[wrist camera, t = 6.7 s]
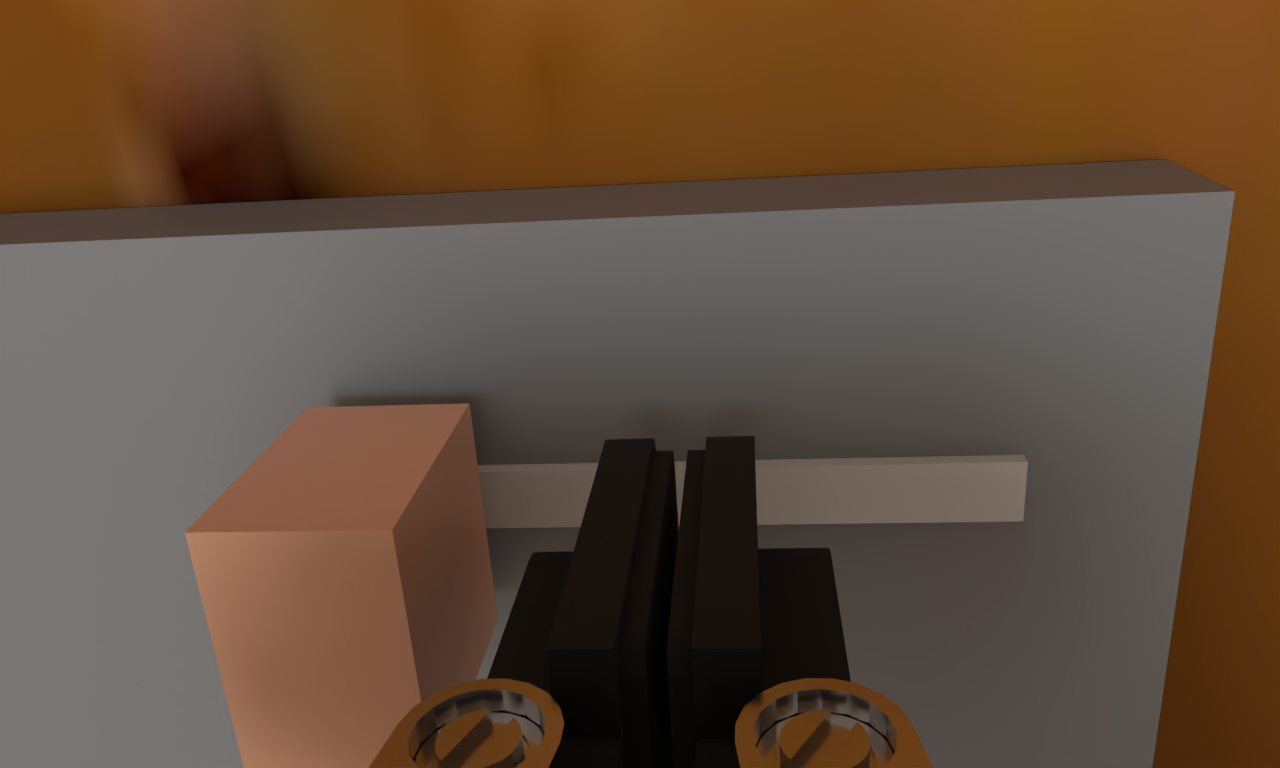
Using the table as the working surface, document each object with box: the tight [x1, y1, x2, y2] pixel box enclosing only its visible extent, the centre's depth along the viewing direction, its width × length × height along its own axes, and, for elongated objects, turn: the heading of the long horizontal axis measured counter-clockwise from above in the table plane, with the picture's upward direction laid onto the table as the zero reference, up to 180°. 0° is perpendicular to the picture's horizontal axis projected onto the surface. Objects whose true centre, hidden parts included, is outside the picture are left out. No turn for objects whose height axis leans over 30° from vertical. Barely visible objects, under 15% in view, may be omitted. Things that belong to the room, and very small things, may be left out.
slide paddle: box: [185, 403, 498, 768], centre depth 12 cm, size 2×3×3 cm, turn 3°
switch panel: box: [0, 159, 1235, 768], centre depth 15 cm, size 25×15×5 cm, turn 94°
